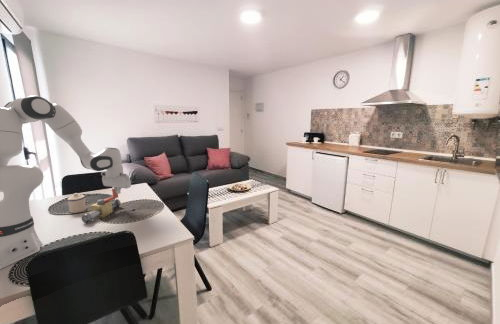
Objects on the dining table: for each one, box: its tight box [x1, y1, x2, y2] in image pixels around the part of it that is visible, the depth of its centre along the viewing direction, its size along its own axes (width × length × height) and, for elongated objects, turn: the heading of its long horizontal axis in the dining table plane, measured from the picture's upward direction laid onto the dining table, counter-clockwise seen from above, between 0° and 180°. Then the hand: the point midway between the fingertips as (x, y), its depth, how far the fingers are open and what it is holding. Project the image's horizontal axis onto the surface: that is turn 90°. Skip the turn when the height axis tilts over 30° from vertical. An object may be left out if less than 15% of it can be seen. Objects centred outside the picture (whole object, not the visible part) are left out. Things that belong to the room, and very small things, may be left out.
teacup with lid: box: [66, 192, 87, 214], centre depth 140 cm, size 12×9×12 cm
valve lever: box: [96, 188, 119, 204], centre depth 136 cm, size 13×4×6 cm, turn 161°
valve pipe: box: [81, 198, 122, 224], centre depth 134 cm, size 24×7×8 cm, turn 173°
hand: (118, 193), depth 140 cm, fingers closed
